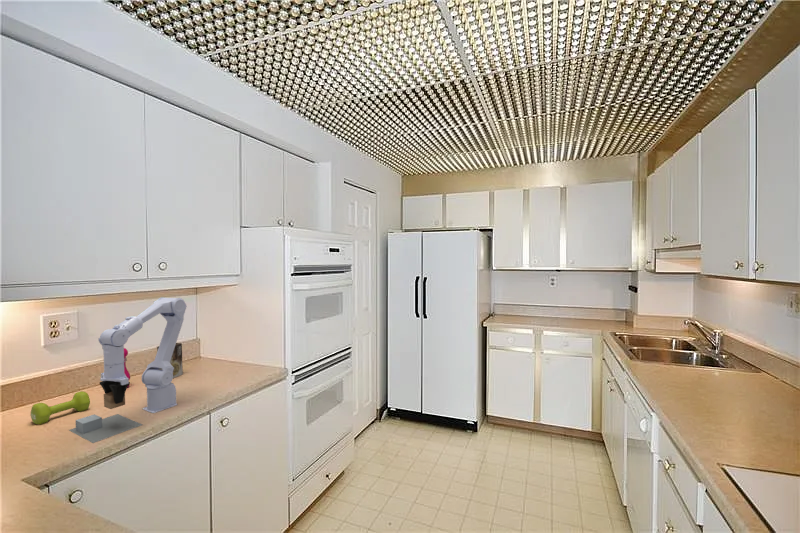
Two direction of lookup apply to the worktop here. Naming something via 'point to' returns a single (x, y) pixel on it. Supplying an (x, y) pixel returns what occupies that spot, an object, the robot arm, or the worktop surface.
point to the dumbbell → (59, 407)
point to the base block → (88, 423)
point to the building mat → (109, 428)
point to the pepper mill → (125, 364)
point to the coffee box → (176, 360)
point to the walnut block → (111, 401)
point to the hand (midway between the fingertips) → (115, 401)
